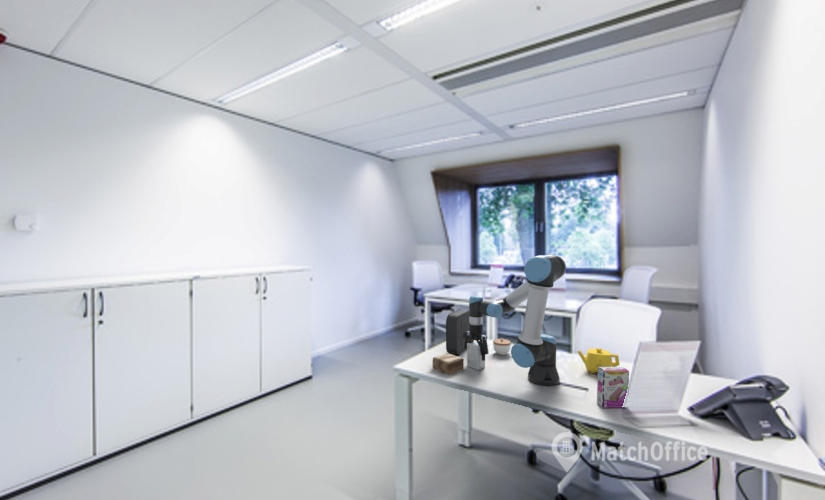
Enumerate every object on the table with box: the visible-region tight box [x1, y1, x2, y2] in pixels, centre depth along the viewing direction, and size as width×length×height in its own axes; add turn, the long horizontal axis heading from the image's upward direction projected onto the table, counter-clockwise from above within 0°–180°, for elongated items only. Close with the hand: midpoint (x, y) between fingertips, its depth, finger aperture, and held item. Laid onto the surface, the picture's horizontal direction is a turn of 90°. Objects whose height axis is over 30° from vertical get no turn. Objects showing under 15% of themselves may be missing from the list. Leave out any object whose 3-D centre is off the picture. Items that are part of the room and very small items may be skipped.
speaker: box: [445, 309, 471, 356], centre depth 224 cm, size 25×9×25 cm, turn 149°
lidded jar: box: [492, 338, 512, 356], centre depth 218 cm, size 11×11×9 cm
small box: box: [466, 341, 486, 371], centre depth 196 cm, size 8×6×13 cm
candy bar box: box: [596, 366, 630, 409], centre depth 150 cm, size 11×5×16 cm, turn 92°
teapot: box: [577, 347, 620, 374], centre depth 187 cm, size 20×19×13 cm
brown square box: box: [432, 352, 465, 376], centre depth 193 cm, size 12×12×6 cm
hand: (475, 363), depth 196 cm, fingers closed on small box, 8 cm apart
